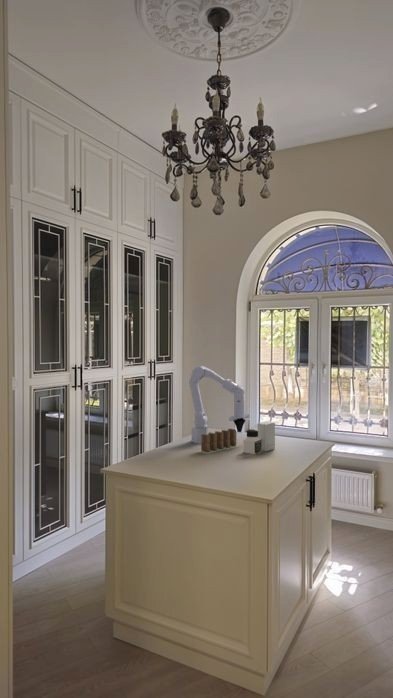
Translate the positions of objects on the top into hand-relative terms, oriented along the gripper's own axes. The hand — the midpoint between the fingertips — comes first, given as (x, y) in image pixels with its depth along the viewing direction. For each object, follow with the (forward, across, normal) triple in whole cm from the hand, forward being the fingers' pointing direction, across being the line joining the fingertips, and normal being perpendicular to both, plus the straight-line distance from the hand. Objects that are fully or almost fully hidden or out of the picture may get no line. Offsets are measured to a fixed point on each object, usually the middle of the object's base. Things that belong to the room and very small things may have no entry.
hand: (239, 431), depth 261 cm
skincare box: (+7, +2, -18) cm, 20 cm away
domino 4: (+7, -6, 0) cm, 9 cm away
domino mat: (+7, -16, 0) cm, 17 cm away
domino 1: (+7, -21, 0) cm, 22 cm away
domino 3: (+7, -11, 0) cm, 13 cm away
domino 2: (+7, -16, 0) cm, 17 cm away
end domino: (+7, -26, 0) cm, 27 cm away
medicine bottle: (+7, -8, -17) cm, 20 cm away
